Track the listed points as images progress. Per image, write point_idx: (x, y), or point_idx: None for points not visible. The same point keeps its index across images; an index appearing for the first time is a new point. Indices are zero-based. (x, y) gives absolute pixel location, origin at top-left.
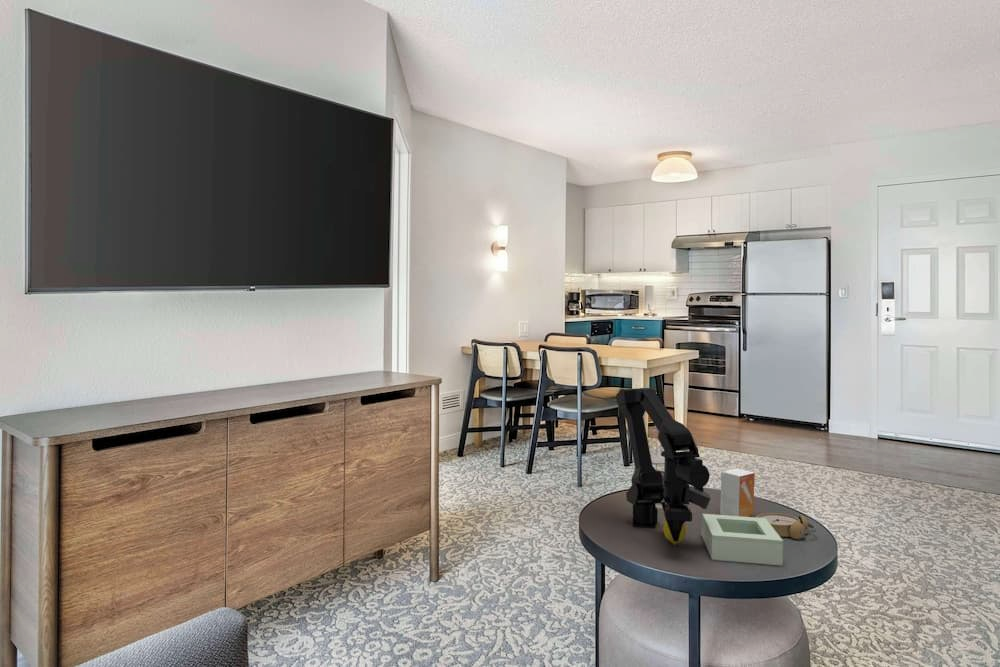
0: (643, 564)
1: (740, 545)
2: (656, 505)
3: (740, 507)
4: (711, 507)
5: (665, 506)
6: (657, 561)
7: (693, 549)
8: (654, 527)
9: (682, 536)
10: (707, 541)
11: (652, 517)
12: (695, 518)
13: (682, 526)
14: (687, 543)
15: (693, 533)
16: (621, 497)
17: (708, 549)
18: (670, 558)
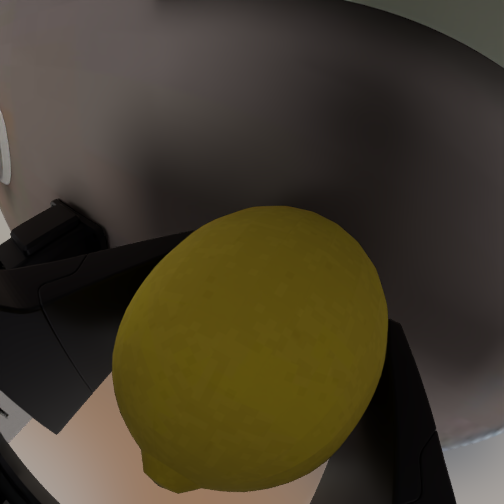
0: (455, 444)
1: None
2: (3, 153)
3: None
4: (6, 8)
5: (50, 421)
6: (467, 415)
7: (431, 154)
8: (103, 237)
9: (382, 292)
10: (434, 3)
11: (62, 252)
12: (30, 39)
13: (352, 390)
14: (295, 135)
15: (125, 44)
16: (7, 214)
17: (485, 50)
18: (481, 371)
